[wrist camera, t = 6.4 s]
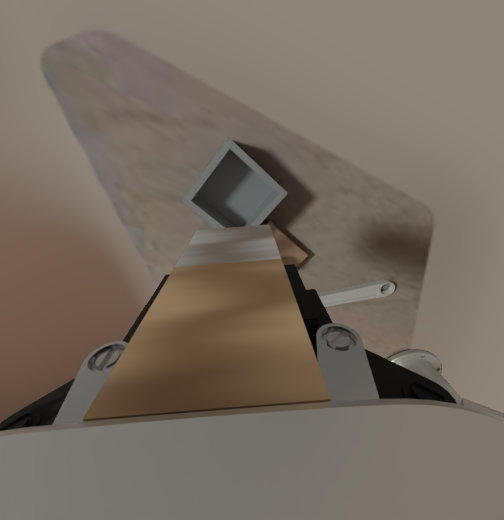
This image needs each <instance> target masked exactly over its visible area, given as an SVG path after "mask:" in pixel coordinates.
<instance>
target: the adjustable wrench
mask: <svg viewBox="0 0 504 520" xmlns="http://www.w3.org/2000/svg"><path fill="white" fill-rule="evenodd" d="M387 283H389V288H388V289H387V290H385V291H381V287H382V286H383V285H385V284H387ZM394 290H395V285H394V284H393V283H392V282H391V281H390V280H387V279H384V280H379V281H374V282H369V283H365V284H360V285H355V286H350V287H345V288H340V289H336V290H331V291H326V292H321V293H317V294H318V296H319V298H320V299H321V301H322V303H323V305H324V307H328V306H333V305H339V304H344V303H350V302H355V301H361V300H366V299H372V298H377V297H383V296H388V295H390V294H392V293H393V292H394Z"/></svg>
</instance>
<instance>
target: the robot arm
mask: <svg viewBox="0 0 504 520" xmlns="http://www.w3.org/2000/svg"><path fill="white" fill-rule="evenodd" d="M284 267H285V270H286V273H287V276H288V279H289V282H290V285H291V287H292V290H293V293H294V296H295V299H296V302H297V304H298V307H299V310H300V313H301V316H302V319H303V321H304V324H305V327H306V330H307V333H308V336H309V338H310V341H311V344H312V347H313V350H314V353H315V356H316V358H317V361H318V364H319V367H320V370H321V373H322V375H323V378H324V381H325V384H326V387H327V390H328V392H329V395H330V398H331V402H319V403H306V404H293V405H279V406H266V407H253V408H240V409H227V410H215V411H202V412H190V413H178V414H166V415H154V416H142V417H131V418H119V419H107V420H96V421H83V420H82V419H83V417H84V416H85V414H86V412H87V411H88V409H89V407H90V406H91V404H92V402H93V401H94V399H95V398H96V396H97V394H98V393H99V391H100V389H101V388H102V386H103V384H104V383H105V381H106V379H107V378H108V376H109V374H110V373H111V371H112V370H113V368H114V366H115V365H116V363H117V361H118V360H119V358H120V356H121V355H122V353H123V351H124V350H125V348H126V346H127V345H128V343H129V342H130V340H131V338H132V337H133V335H134V333H135V332H136V330H137V328H138V327H139V325H140V323H141V322H142V320H143V318H144V317H145V315H146V313H147V312H148V310H149V309H150V307H151V305H152V304H153V302H154V300H155V299H156V297H157V295H158V294H159V292H160V290H161V289H162V287H163V285H164V284H165V282H166V281H167V279H168V277H169V276H170V275H165V277H164V278H163V280H162V282H161V283H160V285H159V286H158V288H157V289H156V291H155V293H154V294H153V296H152V297H151V299H150V300H149V302H148V304H147V305H146V306H145V307H144V309H143V310H142V312H141V313H140V315H139V317H138V318H137V320H136V321H135V323H134V325H133V326H132V327H131V329H130V330H129V332H128V334H127V335H126V337H125V338H124V340H123V341H114V342H111V343H107V344H105V345H103V346H101V347H99V348H97V349H96V350H94V351H93V352H92V353H91V354H90V355H89V356H88V357H87V358H86V359H85V361H84V362H83V364H82V366H81V368H80V370H79V372H78V374H77V376H76V378H75V379H73V380H71V381H70V382H68V383H66V384H64V385H63V386H61V387H59V388H58V389H56V390H54V391H52V392H51V393H49V394H47V395H45V396H44V397H42V398H40V399H39V400H37V401H35V402H34V403H32V404H30V405H28V406H27V407H25V408H23V409H21V410H20V411H18V412H16V413H15V414H13V415H12V416H10V417H9V418H7V419H6V420H4V421H3V422H2V423H1V424H0V520H504V413H501V412H499V411H496V410H493V409H491V408H488V407H485V406H483V405H480V404H477V403H474V402H472V401H469V400H466V399H462V398H461V397H460V396H459V395H458V394H457V393H456V391H455V390H454V389H453V388H452V387H451V386H450V385H449V384H448V382H447V381H446V380H445V379H444V378H443V377H442V376H441V370H442V365H441V363H440V361H439V360H438V359H437V358H436V356H435V355H433V354H432V353H430V352H428V351H425V350H417V349H416V350H407V351H403V352H400V353H397V354H395V355H393V356H391V357H390V358H388V359H385V358H383V357H381V356H379V355H377V354H374V353H372V352H370V351H368V350H366V349H364V346H363V342H362V339H361V337H360V335H359V334H358V333H357V332H356V331H355V330H353V329H352V328H350V327H348V326H345V325H343V324H337V323H332V321H331V319H330V317H329V315H328V313H327V311H326V309H325V307H324V305H323V303H322V301H321V299H320V298H319V296H318V294H317V292H316V290H315V289H311V290H306V289H305V287H304V285H303V282H302V280H301V278H300V276H299V273H298V271H297V269H296V267H295V265H294V264H290V265H284Z"/></svg>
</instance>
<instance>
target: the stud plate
mask: <svg viewBox="0 0 504 520" xmlns="http://www.w3.org/2000/svg"><path fill="white" fill-rule="evenodd" d="M268 224H269V225H270V228H271V231H272V233H273V236H274V239H275V242H276V245H277V248H278V250H279V253H280V256H281V259H282V262H283V265H290V264H294V265H295V267H297V266H298V265H299V264H300V263H301V262H302V261H303V260H304V259H305V258H306V257H307V256H308V255H307V253H306V252H305V251H304V250H303V249H302V248H301V247H300V246H298V245H297V244H296V243H295V242H294V241H293V240H292V239H290V238H289V237H288V236H287V235H286V234H285V233H284V232H282V231H281V230H280V229H279V228H278V227H277V226H276V225H274V224H273V223H272V222H271V221H270V220H269V219H268V220H267V221H266V222H265V223H264V224H263V225H268Z"/></svg>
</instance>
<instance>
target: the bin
mask: <svg viewBox="0 0 504 520" xmlns="http://www.w3.org/2000/svg"><path fill="white" fill-rule="evenodd" d="M287 194H288V193H287V192H286V191H285V190H284V189H283V188H282V187H281V186H280V185H279V184H278V183H277V182H276V181H275V180H273V179H272V178H271V177H270V176H269V175H268V174H267V173H266V172H265V171H264V170H263V169H262V168H261V167H260V166H259V165H258V164H257V163H256V162H254V161H253V160H252V159H251V158H250V157H249V156H248V155H247V154H246V153H245V152H244V151H243V150H242V149H241V148H240V147H239V146H238V145H236V144H235V143H234V142H233V141H232V140H231V139H230V138H229V137H228V139H227V140H226V141H225V143H224V144H223V146H222V147H221V148H220V150H219V151H218V152H217V154H216V155H215V156H214V158H213V159H212V161H211V162H210V163H209V165H208V166H207V167H206V169H205V170H204V171H203V173H202V174H201V176H200V177H199V178H198V180H197V181H196V182H195V184H194V185H193V186H192V188H191V189H190V190H189V192H188V193H187V195H186V196H185V197H184V199H183V200H182V202H183V203H184V204H185V205H187V206H188V207H189V208H191V209H192V210H193V211H194V212H196V213H197V214H198V215H199V216H201V217H202V218H203V219H205V220H206V221H207V222H208V223H210V224H211V225H212V226H213V227H215V228H216V229H220V228H232V227H244V226H256V225H260V224H261V223H262V222H263V221H264V219H265V218H266V217H267V216H268V215H269V214H270V213H271V212H272V210H273V209H274V208H275V207H276V206H277V205H278V204H279V203H280V202H281V200H282V199H283V198H284V197H285V196H286V195H287Z"/></svg>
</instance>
